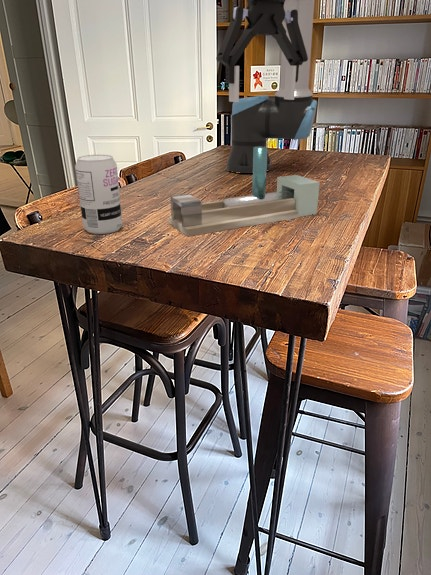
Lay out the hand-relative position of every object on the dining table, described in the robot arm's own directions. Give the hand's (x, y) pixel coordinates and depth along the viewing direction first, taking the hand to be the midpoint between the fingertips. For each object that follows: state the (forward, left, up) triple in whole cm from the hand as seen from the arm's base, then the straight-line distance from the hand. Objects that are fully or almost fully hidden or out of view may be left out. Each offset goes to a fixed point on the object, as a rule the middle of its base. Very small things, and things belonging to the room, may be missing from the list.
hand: (262, 100), depth 94 cm
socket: (+1, +11, -25) cm, 27 cm away
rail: (+1, -6, -25) cm, 26 cm away
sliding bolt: (+1, +1, -23) cm, 23 cm away
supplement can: (-7, -34, -25) cm, 43 cm away
